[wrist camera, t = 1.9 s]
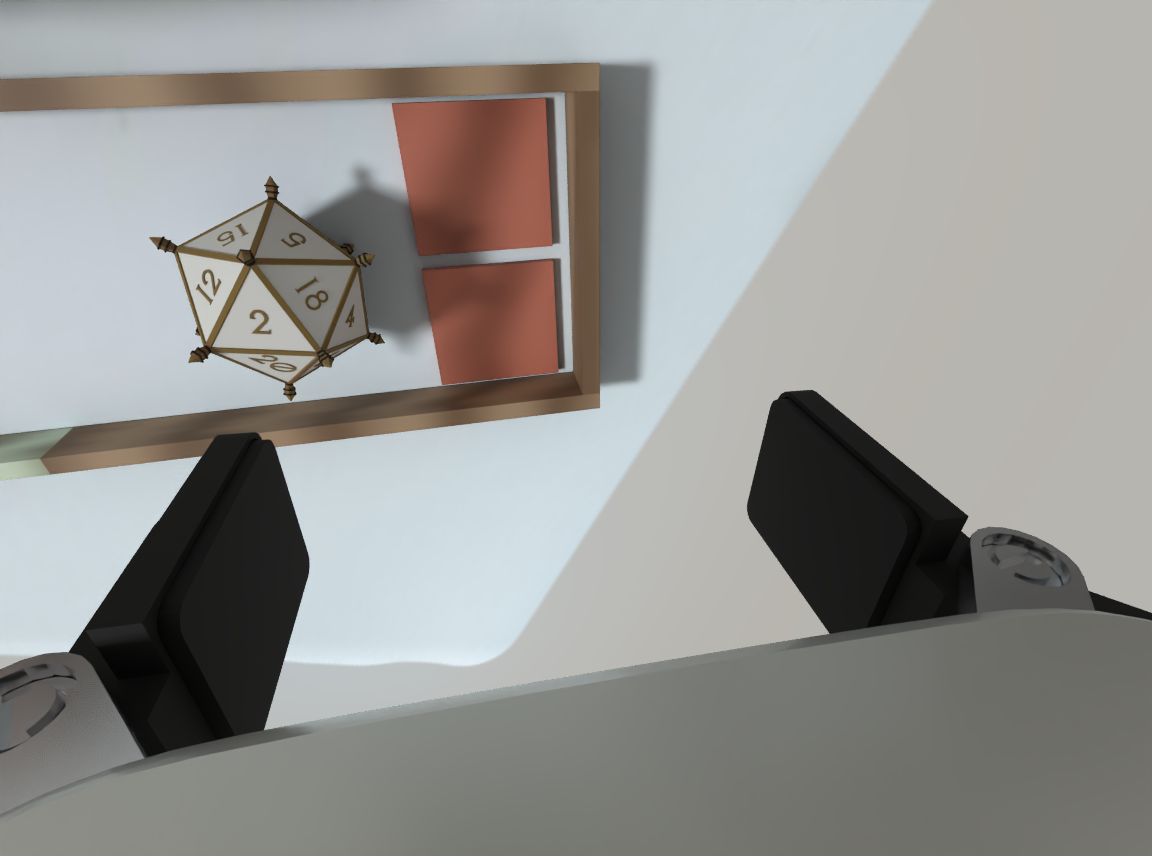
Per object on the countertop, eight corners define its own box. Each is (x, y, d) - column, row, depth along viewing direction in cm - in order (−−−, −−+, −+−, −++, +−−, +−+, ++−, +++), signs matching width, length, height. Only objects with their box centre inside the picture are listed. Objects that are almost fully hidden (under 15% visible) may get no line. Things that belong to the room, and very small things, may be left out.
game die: (353, 258, 32) (445, 369, 28) (215, 337, 30) (294, 468, 26) (267, 108, 24) (379, 236, 20) (70, 202, 22) (152, 364, 18)
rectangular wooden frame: (584, 63, 26) (599, 62, 23) (589, 384, 35) (599, 407, 32) (-499, 94, 20) (-634, 96, 17) (-148, 468, 29) (-204, 505, 27)
